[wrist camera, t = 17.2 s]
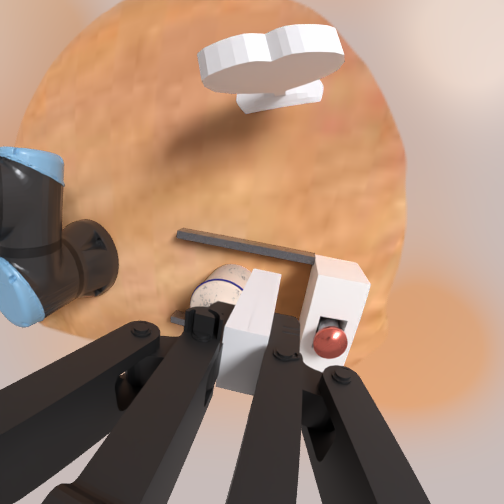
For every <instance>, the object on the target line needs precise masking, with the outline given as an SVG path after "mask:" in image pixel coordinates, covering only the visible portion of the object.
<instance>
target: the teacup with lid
mask: <svg viewBox="0 0 504 504" xmlns="http://www.w3.org/2000/svg"><path fill="white" fill-rule="evenodd" d="M250 275H251V272H250V271H249V270H248V269H246V268H245V267H242V266H240V265H236V264H227V265H223V266H221V267H219V268H217V269H216V270H215V271H214V272H213V273H212V274H211V275H210V276H209V277H208V278H207V279H206V280H205V282H203V283H201V284H200V285H199V286H198V287H197V288H196V289H195V290H194V292H193V294H192V296H191V301H190V308H192V307H196V306H203V307H209V306H210V305H211V304H213V303H215V302H217V301H221V302H225V303H229V304H234V305H236V303H237V301H238V299H239V297H240V295H241V293H242V291H243V289H244V287H245V285H246V283H247V281H248V279H249V277H250Z"/></svg>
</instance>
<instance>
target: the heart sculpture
mask: <svg viewBox="0 0 504 504" xmlns="http://www.w3.org/2000/svg"><path fill="white" fill-rule="evenodd" d="M197 56H198V62H199V68H200V74H201V80H202V82H203V84H204V87H206V88H208V89H210V90H212V91H214V92H221V93H229V94H237V99H236V101H237V103H238V105H239V107H240V108H241V109H242V111H243V112H244V113H245V114H249V113H254V112H259V111H264V110H269V109H274V108H280V107H286V106H292V105H298V104H305V103H312V102H320V101H321V98H322V94H323V85H322V83H321V81H320V80H319V79H321V78H324V77H326V76H328V75H330V74H331V73H333V72H335V71H337V70H338V69H339V68H340V67H341V65H342V64H343V63H344V62H345V61H344V53H343V50H342V47H341V44H340V40H339V37H338V34H337V32H336V29H335V28H333V27H330V26H327V25H317V24H297V25H289V26H283V27H280V28H277V29H274V30H272V31H270V32H268V33H266V34H255V33H249V34H241V35H236V36H233V37H229V38H226V39H224V40H221V41H218V42H216V43H214V44H211V45H209V46H207V47H205V48H203V49H202V50H201V51H200V52H199V53H198V54H197Z"/></svg>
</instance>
